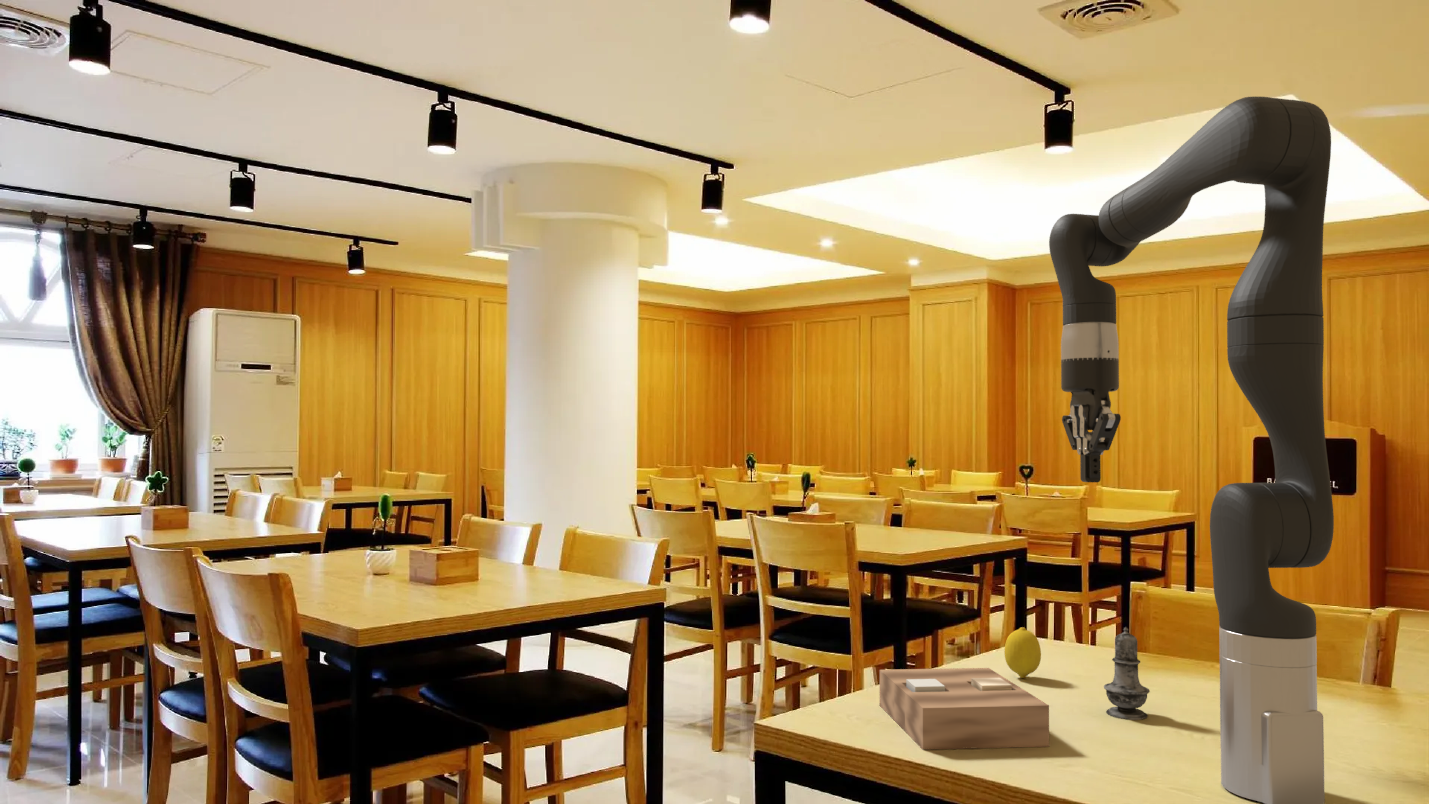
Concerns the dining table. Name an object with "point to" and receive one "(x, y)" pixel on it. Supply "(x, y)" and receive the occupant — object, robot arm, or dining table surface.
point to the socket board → (964, 711)
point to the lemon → (1022, 652)
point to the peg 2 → (990, 684)
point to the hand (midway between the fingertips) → (1090, 481)
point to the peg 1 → (924, 685)
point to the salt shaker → (1126, 680)
